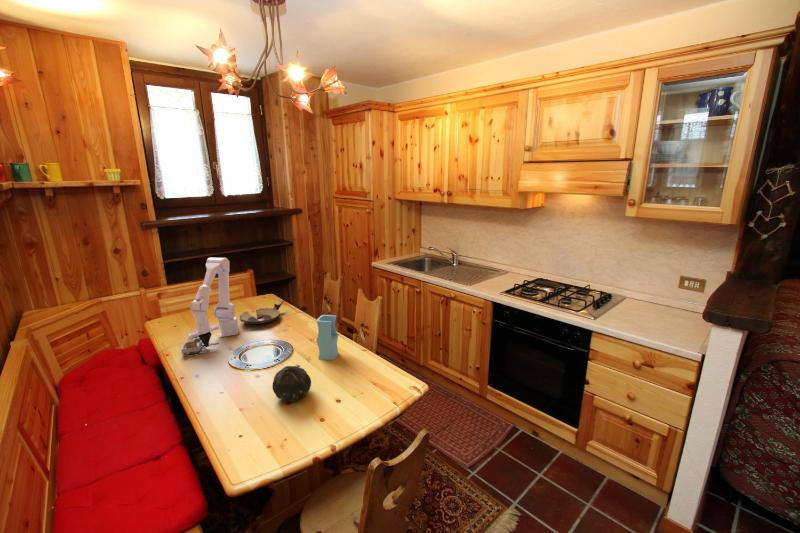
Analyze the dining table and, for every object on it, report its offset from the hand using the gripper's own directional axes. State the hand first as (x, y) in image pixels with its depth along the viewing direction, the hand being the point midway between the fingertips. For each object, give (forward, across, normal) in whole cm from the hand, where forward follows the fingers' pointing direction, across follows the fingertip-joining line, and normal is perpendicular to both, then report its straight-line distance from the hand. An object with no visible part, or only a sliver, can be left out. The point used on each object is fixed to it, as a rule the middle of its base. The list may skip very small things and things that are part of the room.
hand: (206, 346), depth 188 cm
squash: (+2, -3, +70) cm, 70 cm away
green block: (+2, +1, -12) cm, 13 cm away
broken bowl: (+2, -39, -9) cm, 40 cm away
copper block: (-1, +6, -1) cm, 7 cm away
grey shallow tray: (+1, +5, -3) cm, 6 cm away
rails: (+1, +2, -1) cm, 3 cm away
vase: (+2, -34, +56) cm, 66 cm away
